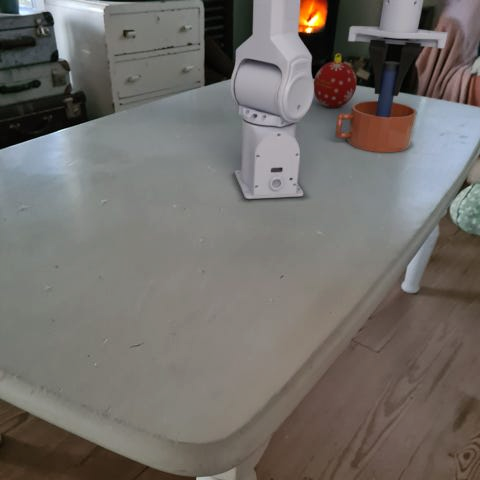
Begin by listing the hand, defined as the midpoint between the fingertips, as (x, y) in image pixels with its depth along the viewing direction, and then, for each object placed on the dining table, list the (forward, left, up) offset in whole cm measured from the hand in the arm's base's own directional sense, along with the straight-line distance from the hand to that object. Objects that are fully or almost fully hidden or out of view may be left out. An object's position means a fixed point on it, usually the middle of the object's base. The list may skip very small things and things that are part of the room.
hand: (386, 93), depth 84 cm
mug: (0, +1, -8) cm, 8 cm away
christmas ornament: (+23, +1, -8) cm, 24 cm away
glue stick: (0, 0, -4) cm, 4 cm away
